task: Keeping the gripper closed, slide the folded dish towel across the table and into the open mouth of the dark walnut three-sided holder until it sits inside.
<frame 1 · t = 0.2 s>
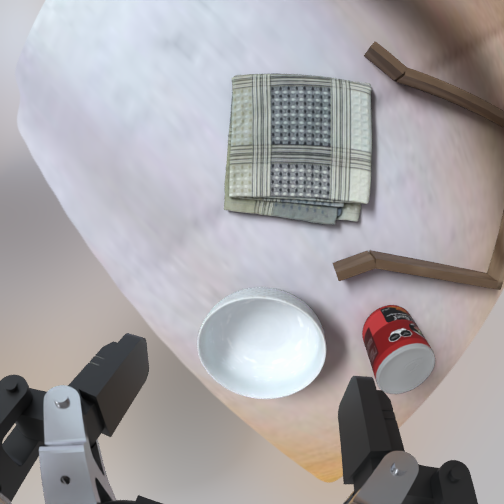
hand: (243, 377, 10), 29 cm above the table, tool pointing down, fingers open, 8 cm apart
cereal bowl: (265, 326, 42), on the table
dish towel: (298, 146, 35), on the table
towel holder: (455, 184, 32), on the table
canned food: (385, 325, 40), on the table
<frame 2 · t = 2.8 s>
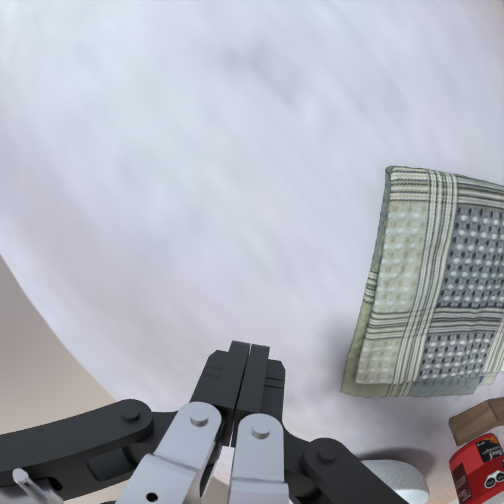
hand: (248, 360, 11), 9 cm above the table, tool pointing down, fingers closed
cereal bowl: (354, 472, 27), on the table
dish towel: (459, 296, 19), on the table
canned food: (471, 448, 24), on the table
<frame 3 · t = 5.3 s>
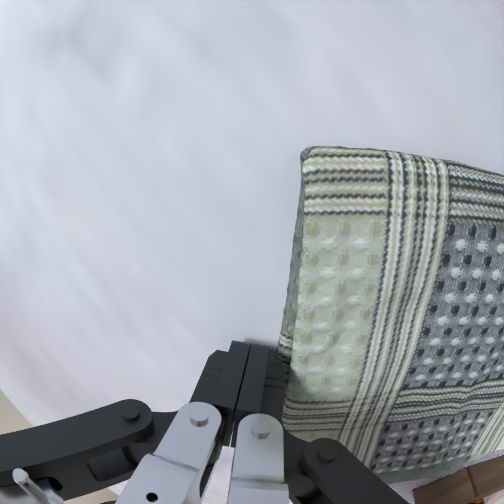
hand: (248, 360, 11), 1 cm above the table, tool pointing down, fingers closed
dish towel: (445, 362, 12), on the table
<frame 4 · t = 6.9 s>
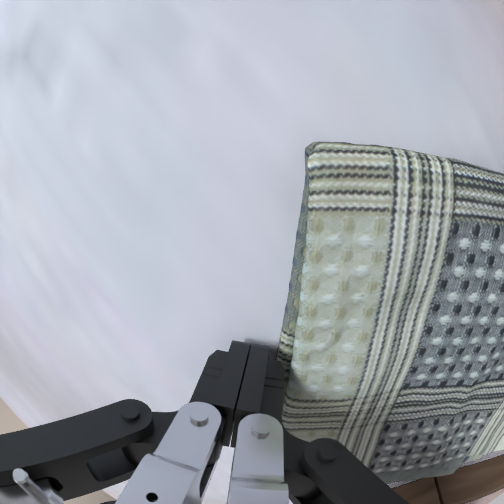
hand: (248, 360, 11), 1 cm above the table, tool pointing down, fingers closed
dish towel: (446, 361, 12), on the table
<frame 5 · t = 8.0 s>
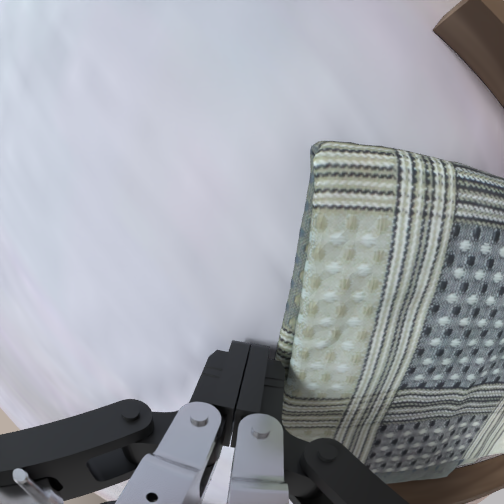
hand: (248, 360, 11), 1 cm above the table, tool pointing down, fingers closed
dish towel: (443, 364, 12), on the table
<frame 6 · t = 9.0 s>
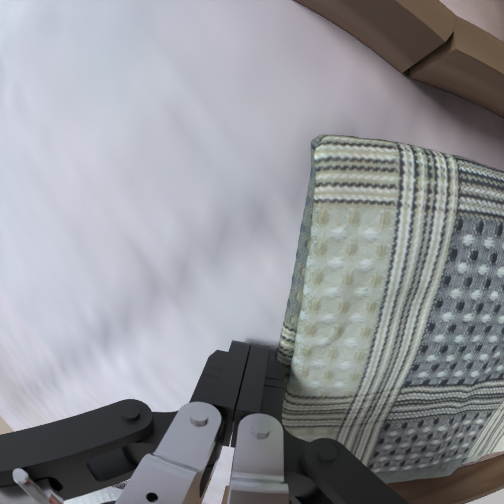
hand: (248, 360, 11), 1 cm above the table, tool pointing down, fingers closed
cereal bowl: (154, 502, 21), on the table
dish towel: (446, 361, 11), on the table, touching gripper
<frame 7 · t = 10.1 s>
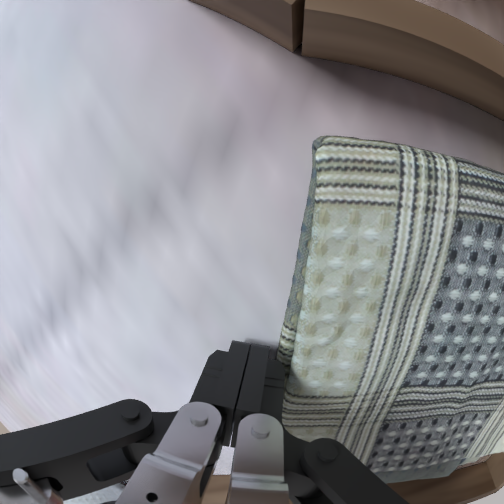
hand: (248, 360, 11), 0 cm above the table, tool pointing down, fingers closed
cereal bowl: (120, 490, 21), on the table
dish towel: (445, 361, 12), on the table
towel holder: (470, 369, 11), on the table
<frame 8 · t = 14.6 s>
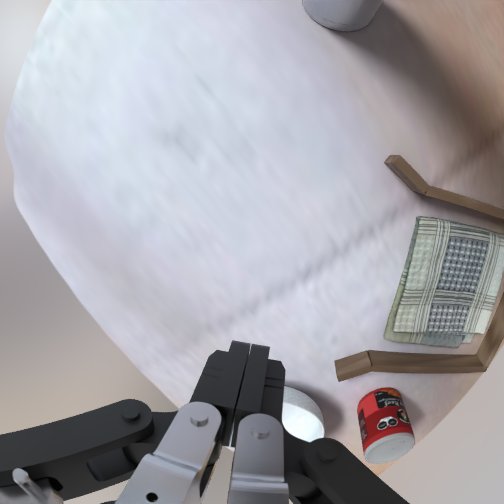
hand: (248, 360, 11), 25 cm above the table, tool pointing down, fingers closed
cereal bowl: (272, 404, 44), on the table
dish towel: (448, 285, 35), on the table
towel holder: (456, 288, 34), on the table
canned food: (378, 401, 42), on the table
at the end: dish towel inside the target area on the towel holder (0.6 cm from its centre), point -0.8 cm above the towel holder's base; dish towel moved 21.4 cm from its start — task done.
